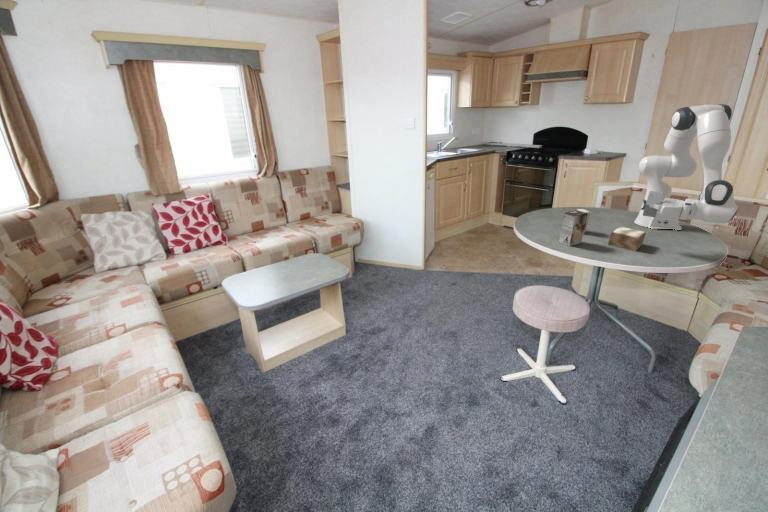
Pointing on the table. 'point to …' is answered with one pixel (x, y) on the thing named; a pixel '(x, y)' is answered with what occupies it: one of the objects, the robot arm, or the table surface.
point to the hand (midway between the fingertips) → (650, 203)
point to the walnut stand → (627, 238)
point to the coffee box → (573, 227)
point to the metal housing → (652, 198)
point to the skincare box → (587, 217)
